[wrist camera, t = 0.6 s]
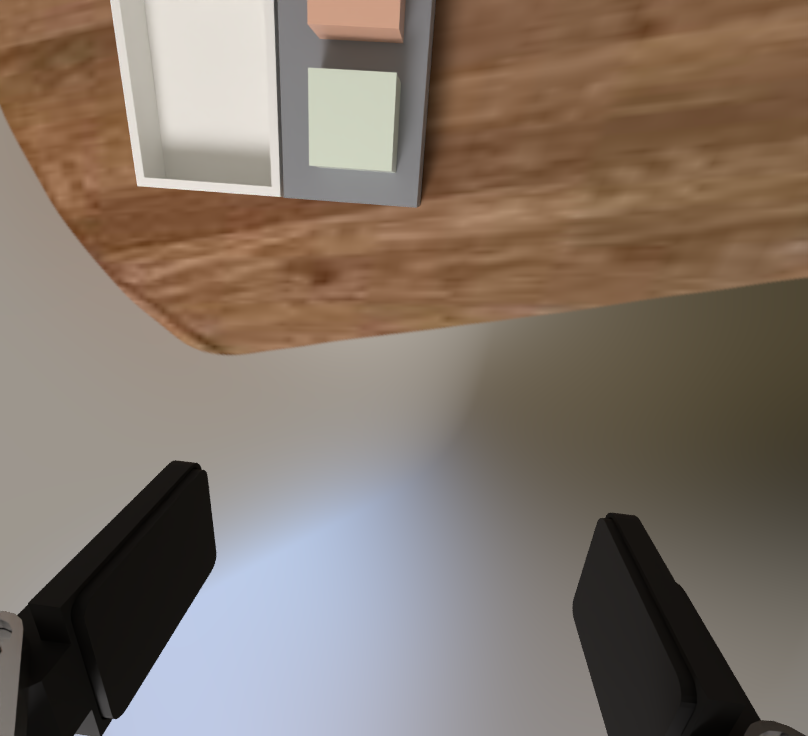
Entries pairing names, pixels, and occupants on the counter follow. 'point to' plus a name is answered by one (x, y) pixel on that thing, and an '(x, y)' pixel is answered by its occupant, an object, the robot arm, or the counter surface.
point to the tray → (202, 93)
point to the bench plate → (402, 58)
